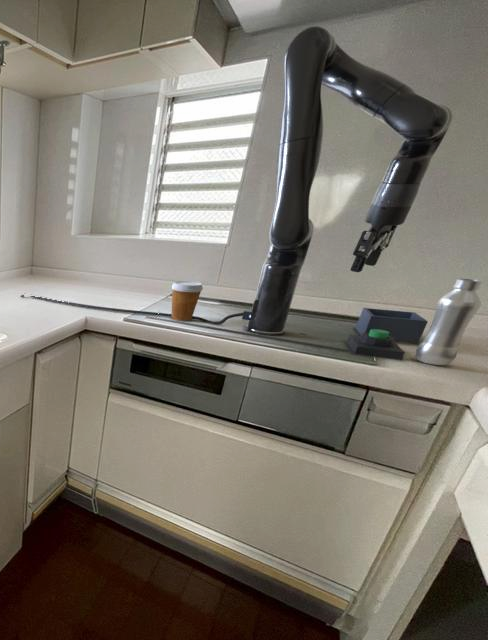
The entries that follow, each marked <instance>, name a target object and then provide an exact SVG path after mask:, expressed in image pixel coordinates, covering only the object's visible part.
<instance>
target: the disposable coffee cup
mask: <svg viewBox="0 0 488 640" xmlns="http://www.w3.org/2000/svg"><path fill="white" fill-rule="evenodd" d="M171 289H172V295H171V314H172V315H171V317H170V318H171V319H173V320H175V321H183V322H189V321H191V320H193V319H192V316H194V313H195V310H196V307H197V303H198V301H199V298H200V295H201V292H202V291H203V290H204V287H203V283H201V282H198V281H192V280H191V281H190V280H176V281H174V282H173V283H172V285H171Z"/></svg>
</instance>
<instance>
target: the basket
mask: <svg viewBox="0 0 488 640" xmlns="http://www.w3.org/2000/svg"><path fill="white" fill-rule="evenodd" d="M428 322H429V321H428V320H427V319H425V318H424V317H422V316H421V315H419V314H418V313H416V312H415V311H414V312H412V311H402V310H393V309H382V308H370V307H362V310H361V313H360V315H359V318H358V320H357V324H356V325H355V326H356V327H355V330H356V331H357V333H359V335H361V333H370V330H371V329H379V330H384V331H388V332H389V334H388V336H391V337H394V338H395V341H394V342H395V343H396V342H397V343H405V344H413V345H414V344H415V345H419V344H420V341H421V338H422V337H423V334H424V332H425V329H426V328H427V324H428Z"/></svg>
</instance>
